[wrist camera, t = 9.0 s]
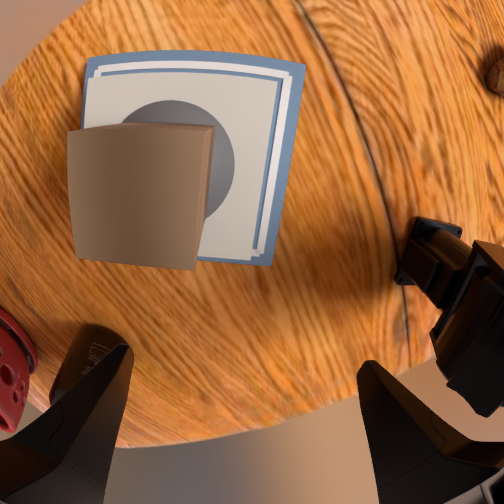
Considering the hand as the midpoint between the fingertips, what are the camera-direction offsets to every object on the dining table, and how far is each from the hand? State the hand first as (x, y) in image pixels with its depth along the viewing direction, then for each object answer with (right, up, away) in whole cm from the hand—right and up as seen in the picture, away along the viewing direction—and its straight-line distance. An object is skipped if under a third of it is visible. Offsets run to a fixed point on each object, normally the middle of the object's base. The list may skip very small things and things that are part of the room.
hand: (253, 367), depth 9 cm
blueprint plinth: (-5, +10, +7) cm, 14 cm away
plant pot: (-31, -6, +14) cm, 35 cm away
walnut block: (-4, +8, +4) cm, 10 cm away
